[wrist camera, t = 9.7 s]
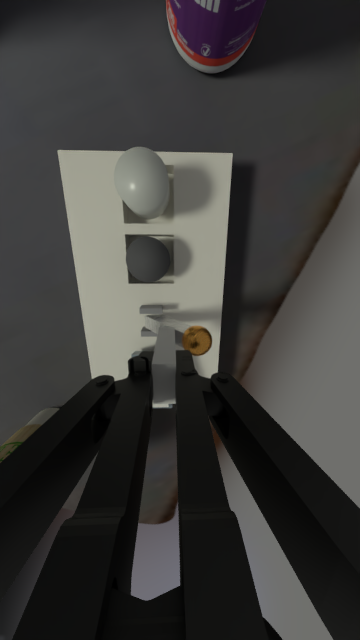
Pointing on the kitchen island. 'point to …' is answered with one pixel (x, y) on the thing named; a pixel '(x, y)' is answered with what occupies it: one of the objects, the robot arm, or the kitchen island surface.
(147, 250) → the button black
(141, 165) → the button grey
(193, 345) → the lever
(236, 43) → the pill bottle
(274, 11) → the kitchen island surface
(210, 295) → the panel
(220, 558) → the robot arm
